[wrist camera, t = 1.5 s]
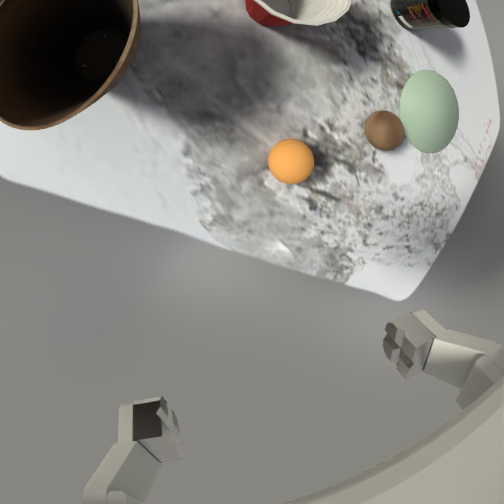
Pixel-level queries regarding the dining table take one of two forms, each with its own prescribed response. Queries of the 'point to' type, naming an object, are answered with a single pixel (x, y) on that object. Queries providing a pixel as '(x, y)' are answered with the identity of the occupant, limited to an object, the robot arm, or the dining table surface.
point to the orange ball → (291, 161)
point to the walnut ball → (384, 130)
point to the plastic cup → (296, 11)
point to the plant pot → (62, 56)
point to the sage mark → (428, 111)
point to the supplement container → (431, 13)
